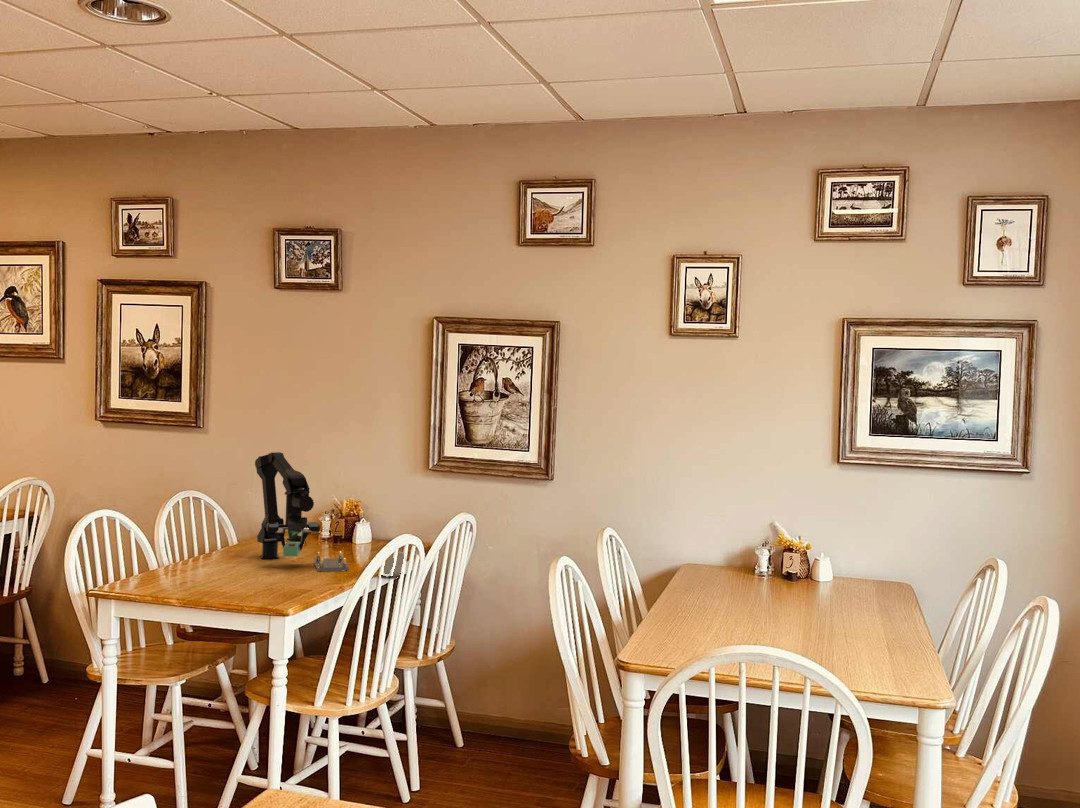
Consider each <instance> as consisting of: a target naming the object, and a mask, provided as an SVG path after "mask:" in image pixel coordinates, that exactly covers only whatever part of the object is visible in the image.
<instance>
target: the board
mask: <svg viewBox="0 0 1080 808" xmlns="http://www.w3.org/2000/svg"><path fill="white" fill-rule="evenodd" d="M300 543H301V542H287V543H286V544H285V545H284V546H282V549H283V551H282V556H283V557H298V556H299V555H300V554H301V552H302V550H300Z"/></svg>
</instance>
